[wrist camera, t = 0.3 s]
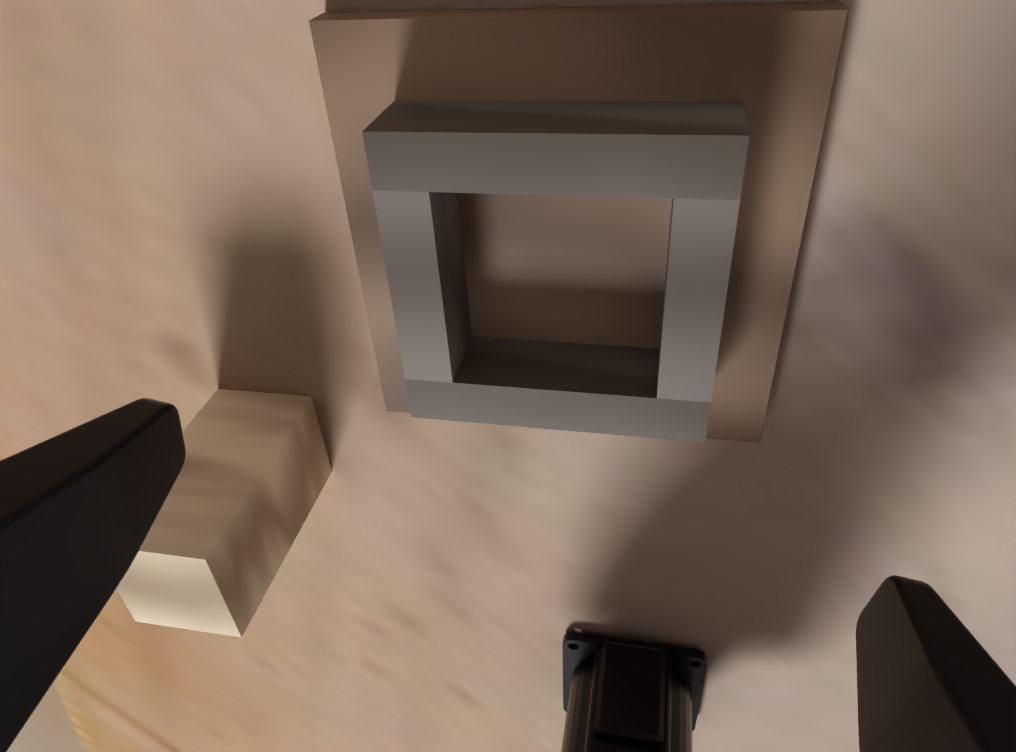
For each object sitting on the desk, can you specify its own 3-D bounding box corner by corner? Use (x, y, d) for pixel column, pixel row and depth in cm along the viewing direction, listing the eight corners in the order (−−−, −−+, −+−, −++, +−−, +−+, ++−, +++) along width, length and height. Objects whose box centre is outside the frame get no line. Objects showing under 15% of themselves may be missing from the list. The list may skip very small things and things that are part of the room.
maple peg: (332, 471, 31) (241, 637, 24) (245, 462, 31) (135, 621, 25) (311, 396, 28) (205, 559, 22) (218, 388, 29) (89, 544, 23)
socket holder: (757, 423, 25) (766, 497, 22) (394, 394, 27) (362, 457, 25) (840, 1, 17) (868, 35, 14) (324, 12, 20) (265, 44, 17)
